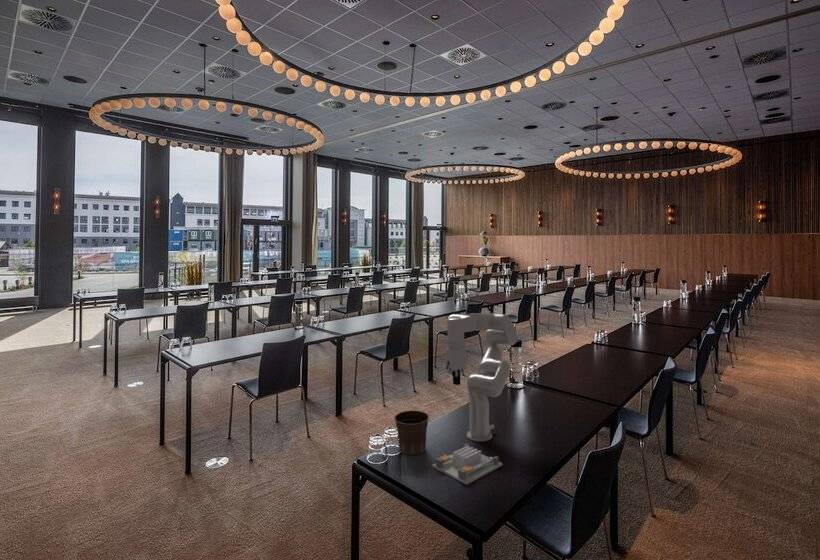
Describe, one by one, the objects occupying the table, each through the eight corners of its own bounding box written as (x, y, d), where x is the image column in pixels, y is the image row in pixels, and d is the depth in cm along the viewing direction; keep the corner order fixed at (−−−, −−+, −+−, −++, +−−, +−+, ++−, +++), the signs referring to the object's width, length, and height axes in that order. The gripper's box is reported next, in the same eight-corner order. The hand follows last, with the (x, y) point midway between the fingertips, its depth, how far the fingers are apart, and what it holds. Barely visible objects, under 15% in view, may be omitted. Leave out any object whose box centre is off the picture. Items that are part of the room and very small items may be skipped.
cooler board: (467, 450, 210) (467, 436, 209) (502, 465, 195) (502, 450, 194) (432, 466, 195) (431, 452, 194) (466, 484, 180) (466, 469, 179)
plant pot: (418, 461, 200) (417, 426, 199) (388, 453, 209) (387, 419, 207) (435, 447, 214) (435, 414, 213) (406, 440, 222) (406, 408, 221)
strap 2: (490, 458, 197) (490, 454, 197) (496, 461, 195) (496, 457, 195) (461, 472, 185) (461, 468, 185) (467, 475, 183) (467, 471, 182)
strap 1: (467, 448, 207) (467, 445, 207) (473, 451, 205) (473, 447, 204) (439, 461, 195) (439, 457, 195) (444, 464, 192) (444, 460, 192)
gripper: (461, 341, 212) (461, 379, 214) (438, 346, 202) (439, 386, 204) (473, 343, 207) (473, 382, 208) (450, 348, 197) (451, 389, 198)
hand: (456, 384), depth 206 cm, fingers closed
